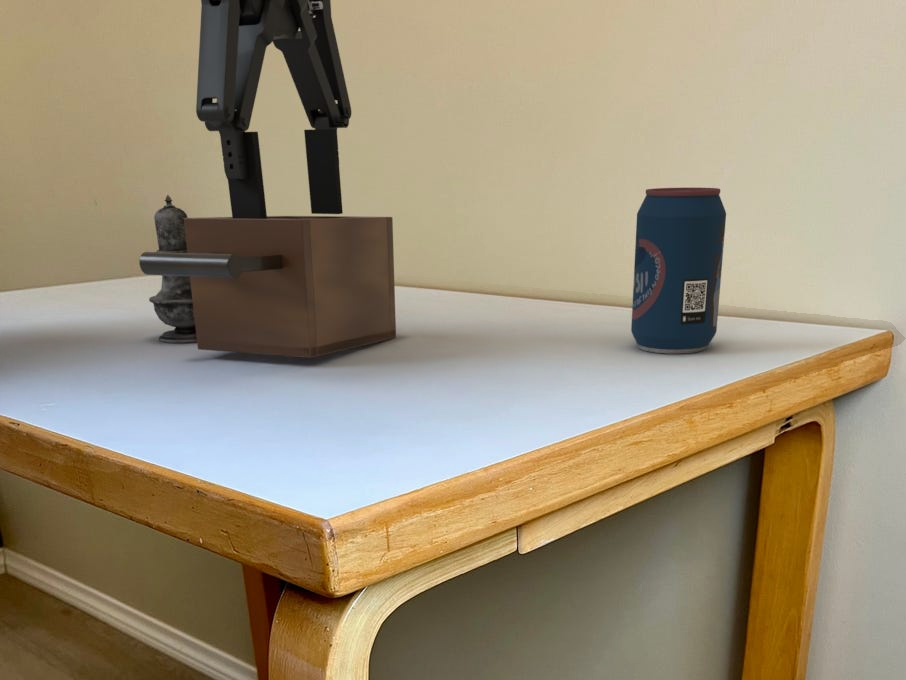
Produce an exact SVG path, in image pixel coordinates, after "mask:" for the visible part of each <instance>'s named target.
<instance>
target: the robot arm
mask: <svg viewBox="0 0 906 680" xmlns="http://www.w3.org/2000/svg"><path fill="white" fill-rule="evenodd" d="M200 3H201V8H200V9H201V10H200V29H199V47H198V51H199V52H198V65H197V66H198V68H197V84H196V85H197V87H196V103H195V104H196V105H195V112H196V117H197V119H198V120H199V121H200V122H204V126H205V128H206V130H207V131H209V132H218V133H219V137H220V146H221V153H222V161H223V169H224V174H225V177H226V179H227V185H228V192H229V200H230V201H229V203H230V209H231V217H232V218H262V219H267V216H268V215H267V203H266V196H265V187H264V185H265V184H264V176H263V169H262V167H263V166H262V158H261V148H260V140H259V132H258V131H248V130H249V128H250V125H251V121H252V116H253V111H254V107H255V101H256V97H257V93H258V87H259V83H260V79H261V74H262V69H263V65H264V60H265V55H266V51H267V47H268V46H269V45H272V43H273V46H274V47H275V49H277V50H279V51H280V52H281V53H282V55H283V58H284V60H285V63H286V65H287V68H288V71H289V73H290V76H291V78H292V81H293V84H294V87H295V89H296V91H297V94H298V96H299V99H300V102H301V104H302V107H303V109H304V112H305V115H306V118H307V119H308V123H309V125H310V127H311V128H312V129H304V130H303V131H304V133H303V134H304V143H305V144H304V145H305V155H306V156H305V157H306V167H307V168H306V169H307V176H308V178H307V179H308V188H309V201H310V214H312V215H342V214H343V213H344V212H343V198H342V187H341V184H342V183H341V172H340V171H341V170H340V156H339V155H340V153H339V139H338V129H347V128H348V127H349V125H350V119H351V118H352V107H351V101H350V98H349V93H348V87H347V82H346V78H345V73H344V69H343V64H342V60H341V55H340V49H339V46H338V41H337V38H336V31H335V27H334V23H333V17H332V3H331V0H200ZM213 100H216V101H215V102H214V101H213Z"/></svg>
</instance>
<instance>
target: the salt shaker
mask: <svg viewBox="0 0 906 680" xmlns="http://www.w3.org/2000/svg"><path fill="white" fill-rule="evenodd" d="M172 201H173V199H172V197H171V196H170V195H169V194H166V196H165V199H164V202H165V205H164V206H163V207H162V208H159V209H158V210H157V211H155V214H154V217H153V218H154V225H155V232H156V239H157V245H158V250H156V252H170V253H187V244H186V234H185V225H184V218H189V217H188V215H187V213H186V212H185V210H183V209H182V208H179V207H176V205H175V204H172ZM160 287H161V288H160V290H159V291H158V292H157V294H156V295H152V296H150V297H149V298H148V301H149V302H150V303H152V304H153V310H154V312H155V314H156V316H157V317H158V319H159V320H160V321H161V322H162V323H163V324H164V325H166V326H170V327H173V328H174V329H170V330H167V331H164V332H163V333H162V334H161V335H160V336H159V337H158V341H159V342H162V343H168V344H169V343H170V344H187V343H188V344H189V343H197V336H196V327H195V318H194V309H193V299H192V290H191V281H190V277H186V276H161V286H160Z"/></svg>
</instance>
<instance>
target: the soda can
mask: <svg viewBox="0 0 906 680" xmlns="http://www.w3.org/2000/svg"><path fill="white" fill-rule="evenodd" d="M720 194H721V189H720V188H718V187H657V188H648V189H645V197H644V199H643V201H642V203H641V204H640V207H639V208H638V211H637V213H636V226H635V248H634V266H633V267H634V268H633V285H632V286H633V288H632V305H631V306H632V307H631V308H632V309H631V327H630V331H631V334H632V337H633V338H634V340H635V343H636V344H637V346H638V348H639V349H640V350H642V351H646V352H649V353H656V354H671V355H672V354H674V355H675V354H676V355H677V354H692V353H698V352H703V351H705V350H706V349H707V348H708V346H709V345H710V344H711V342H712V340H713V339H714V338H715V336H716V334H717V330H718V317H719V306H720V294H721V293H720V292H721V284H722V283H721V282H722V270H723V269H722V268H723V260H724V259H723V256H724V246H725V233H726V221H727V212H726V209H725V206H724V203H723V201H722V198H721V196H720Z"/></svg>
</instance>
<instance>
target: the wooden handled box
mask: <svg viewBox="0 0 906 680" xmlns="http://www.w3.org/2000/svg"><path fill="white" fill-rule="evenodd" d="M393 220H394V219H393V217H392V216H355V215H354V216H351V215H350V216H346V215H343V216H342V215H341V216H339V215H337V216H336V215H267V219H262V218H232V216H211V217H208V216H207V217H206V216H205V217H203V216H202V217H188V218H184V225H185V234H186V244H187V253H170V252H157V251H144V252H142V253H141V254H140V256H139V260H138V261H139V262H138V264H139V268H140V271H141V272H142V273H143V274H144V275H146V276H161V277H162V276H186V277H190V281H191V290H192V299H193V309H194V318H195V327H196V336H197V342H196V346H197V350H201V351H214V352H227V353H239V354H240V353H242V354H256V355H269V356H282V357H283V356H284V357H297V358H315V357H318V356H323V355H327V354H331V353H332V354H333V353H337V352H341V351H344V350H349V349H353V348H357V347H361V346H366V345H371V344H375V343H378V342H383V341H387V340H391V339H396V338H397V323H396V322H397V321H396V319H397V318H396V291H395V290H396V287H395V257H394V224H393Z"/></svg>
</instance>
